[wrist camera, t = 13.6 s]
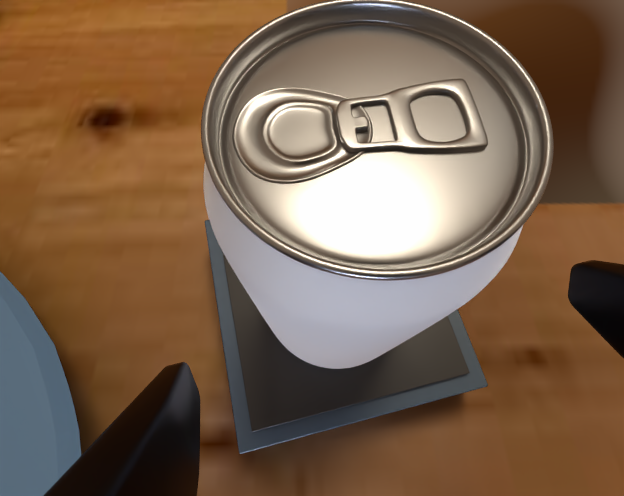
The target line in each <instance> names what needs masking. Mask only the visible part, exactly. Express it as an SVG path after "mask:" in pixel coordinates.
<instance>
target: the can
mask: <svg viewBox="0 0 624 496" xmlns="http://www.w3.org/2000/svg"><path fill="white" fill-rule="evenodd" d="M201 140H202V148H203V154H204V158H205V167H204V198H205V204H206V209H207V213H208V217H209V220H210V223H211V226H212V229H213V232H214V234H215V237H216V239H217V241H218V244H219V246H220V247H221V249H222V251H223V253H224V255H225V257H226V259H227V260H228V262H229V264H230V266H231V267H232V269H233V270H234V272H235V274H236V275H237V277H238V279H239V280H240V282H241V283H242V285H243V287H244V288H245V290H246V291H247V293H248V294H249V296H250V298H251V299H252V301H253V302H254V304H255V305H256V307H257V309H258V310H259V312H260V313H261V315H262V316H263V318H264V319H265V321H266V322H267V324H268V325H269V327H270V328H271V330H272V331H273V333H274V334H275V336H276V337H277V338H278V340H279V341H280V342H281V343H282V344H283V345H284V346H285V347H286V348H287V349H288V350H289V351H290V352H291V353H292V354H294V355H295V356H297V357H298V358H300V359H302V360H303V361H305V362H308V363H310V364H313V365H316V366H319V367H324V368H331V369H344V368H351V367H355V366H359V365H362V364H364V363H367V362H369V361H371V360H373V359H375V358H377V357H379V356H380V355H382V354H384V353H386V352H387V351H389V350H391V349H393V348H394V347H396V346H398V345H400V344H401V343H403V342H405V341H406V340H408V339H410V338H411V337H413V336H415V335H417V334H418V333H420V332H422V331H423V330H425V329H427V328H428V327H430V326H432V325H433V324H435V323H436V322H438V321H440V320H441V319H443V318H444V317H446V316H448V315H449V314H451V313H452V312H454V311H455V310H457V309H458V308H460V307H461V306H462V305H464V304H465V303H467V302H468V301H469V300H471V299H472V298H473V297H474V296H476V295H477V294H478V293H479V292H480V291H481V290H482V289H483V288H484V287H485V286H486V285H487V284H488V283H489V282H490V281H491V280H492V279H493V278H494V277H495V276H496V275H497V274H498V272H499V271H500V270H501V269H502V267H503V266H504V265H505V263H506V261H507V260H508V258H509V257H510V255H511V253H512V251H513V249H514V247H515V245H516V243H517V240H518V238H519V235H520V232H521V230H522V226H523V224H524V223H525V222H526V221H527V220H528V218H529V217H530V216H531V214H532V213H533V211H534V210H535V208H536V207H537V205H538V203H539V201H540V199H541V197H542V195H543V193H544V191H545V188H546V186H547V183H548V180H549V176H550V173H551V167H552V160H553V133H552V126H551V121H550V117H549V114H548V111H547V108H546V105H545V102H544V100H543V98H542V96H541V93H540V91H539V90H538V88H537V86H536V84H535V83H534V81H533V80H532V78H531V76H530V75H529V74H528V72H527V71H526V70H525V68H524V67H523V66H522V65H521V63H520V62H519V61H518V60H517V59H516V58H515V57H514V56H513V55H512V54H511V53H510V52H509V51H508V50H507V49H506V48H505V47H504V46H503V45H501V44H500V43H499V42H498V41H496V40H495V39H494V38H492V37H491V36H489V35H488V34H487V33H485V32H484V31H482V30H481V29H479V28H477V27H475V26H474V25H472V24H470V23H469V22H467V21H465V20H463V19H461V18H459V17H456V16H454V15H452V14H449V13H447V12H444V11H442V10H439V9H436V8H432V7H429V6H426V5H422V4H418V3H414V2H409V1H404V0H330V1H324V2H320V3H316V4H312V5H308V6H305V7H302V8H299V9H296V10H293V11H291V12H288V13H286V14H284V15H281V16H279V17H277V18H275V19H273V20H272V21H270V22H268V23H266V24H265V25H263V26H262V27H260V28H259V29H257V30H256V31H254V32H253V33H252V34H250V35H249V36H248V37H247V38H245V39H244V40H243V41H242V42H241V43H240V44H239V45H238V46H237V47H236V48H235V49H234V50H233V51H232V52H231V53H230V54H229V56H228V57H227V58H226V59H225V61H224V62H223V64H222V65H221V66H220V68H219V70H218V71H217V73H216V75H215V77H214V78H213V80H212V83H211V85H210V87H209V90H208V93H207V95H206V99H205V102H204V107H203V112H202V120H201Z"/></svg>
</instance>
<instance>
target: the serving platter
mask: <svg viewBox="0 0 624 496" xmlns="http://www.w3.org/2000/svg"><path fill="white" fill-rule="evenodd" d="M80 456H81V447H80V436H79V428H78V423H77V418H76V414H75V409H74V405H73V401H72V397H71V393H70V390H69V386H68V383H67V380H66V377H65V374H64V371H63V368H62V365H61V362H60V360H59V357H58V354H57V351H56V348H55V345H54V343H53V342H52V340H51V339H50V337H49V335H48V334H47V332H46V331H45V329H44V328H43V326H42V324H41V323H40V321H39V320H38V318H37V317H36V315H35V313H34V312H33V310H32V309H31V307H30V306H29V304H28V302H27V301H26V299H25V298H24V297H23V296H22V295H21V294H20V292H19V291H18V290H17V289H16V288H15V287H14V286H13V285H12V284H11V283H10V282H9V280H8V279H7V278H6V277H5V276H4V275H3V274H2V273H1V272H0V496H43V495H44V494H45V493H46V492H47V491H48V490H49V489H50V488H51V487H52V486H53V485H54V484H55V483H56V482H57V481H58V480H59V479H60V477H61V476H62V475H63V474H64V473H65V472H66V471H67V470H68V469H69V468H70V467H71V466H72V465H73V464H74V463H75V462H76V461H77V460H78V459H79V457H80Z"/></svg>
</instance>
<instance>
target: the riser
mask: <svg viewBox="0 0 624 496" xmlns="http://www.w3.org/2000/svg"><path fill="white" fill-rule="evenodd" d="M205 227H206V233H207V240H208V247H209V254H210V260H211V267H212V274H213V280H214V287H215V294H216V301H217V307H218V314H219V321H220V327H221V334H222V341H223V348H224V354H225V361H226V368H227V374H228V381H229V388H230V395H231V401H232V408H233V415H234V421H235V428H236V435H237V442H238V448H239V453H240V454H243V453H246V452H250V451H254V450H257V449H261V448H265V447H268V446H272V445H276V444H279V443H283V442H286V441H290V440H294V439H297V438H301V437H305V436H308V435H312V434H316V433H319V432H323V431H327V430H330V429H334V428H337V427H341V426H345V425H348V424H352V423H356V422H359V421H363V420H367V419H370V418H374V417H377V416H381V415H385V414H388V413H392V412H396V411H399V410H403V409H407V408H410V407H414V406H418V405H421V404H425V403H428V402H432V401H436V400H439V399H443V398H447V397H450V396H454V395H458V394H461V393H465V392H468V391H472V390H476V389H479V388H483V387H487V386H488V384H487V382H486V379H485V377H484V374H483V372H482V369H481V367H480V364H479V362H478V359H477V357H476V354H475V352H474V349H473V347H472V344H471V342H470V339H469V337H468V334H467V332H466V329H465V327H464V324H463V322H462V319H461V317H460V314H459V312H458V309H457V310H455V311H454V312H452V313H451V314H449V315H448V316H446V317H444V318H443V319H441V320H440V321H438V322H436V323H435V324H433V325H432V326H430V327H428V328H427V329H425V330H423V331H422V332H420V333H418V334H417V335H415V336H413V337H411V338H410V339H408V340H406V341H405V342H403V343H401V344H400V345H398V346H396V347H394V348H393V349H391V350H389V351H387V352H386V353H384V354H382V355H380V356H379V357H377V358H375V359H373V360H371V361H369V362H367V363H364V364H362V365H359V366H355V367H351V368H344V369H331V368H324V367H319V366H316V365H313V364H310V363H308V362H305V361H303V360H302V359H300V358H298V357H297V356H295V355H294V354H292V353H291V352H290V351H289V350H288V349H287V348H286V347H285V346H284V345H283V344H282V343H281V342H280V341H279V340H278V338H277V337H276V336H275V334H274V333H273V331H272V330H271V328H270V327H269V325H268V324H267V322H266V321H265V319H264V318H263V316H262V315H261V313H260V312H259V310H258V309H257V307H256V305H255V304H254V302H253V301H252V299H251V298H250V296H249V294H248V293H247V291H246V290H245V288H244V287H243V285H242V283H241V282H240V280H239V279H238V277H237V275H236V274H235V272H234V270H233V269H232V267H231V266H230V264H229V262H228V260H227V259H226V257H225V255H224V253H223V251H222V249H221V247H220V246H219V244H218V241H217V239H216V237H215V234H214V232H213V229H212V226H211V223H210V220H206V221H205Z"/></svg>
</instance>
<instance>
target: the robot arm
mask: <svg viewBox="0 0 624 496" xmlns="http://www.w3.org/2000/svg"><path fill="white" fill-rule="evenodd" d="M568 298H569V301H570V303H571V304H572V306H573V307H574V308H575V309H576V310H577V311H578V312H579V313H580V314H581V315H582V316H583V317H584V318H585V319H586V320H587V321H588V322H589V323H590V324H591V326H592V327H593V328H594V329H595V330H596V331H597V332H598V333H599V334H600V335H601V336H602V337H603V338H604V339H605V340H606V341H607V342H608V343H609V344H610V345H611V346H612V347H613V348H614V349H615V350H616V351H617V352H618V353H619V354H620V355H621V356H622V357H623V358H624V264H617V263H609V262H602V261H595V260H591V261H586V262H582V263H578V264H575V265H574V266H573V267H572V269H571V273H570V282H569V290H568ZM199 458H200V395H199V391H198V388H197V386H196V383H195V381H194V378H193V375H192V373H191V370H190V368H189V366H188V365H187V363H185V362H181V363H177V364H173V365H169V366H167V367H165V368H164V369H163V370H162V371H161V372H160V373H159V374H158V375H157V376H156V377H155V378H154V379H153V381H152V382H151V383H150V384H149V385H148V386H147V387H146V388H145V389H144V390H143V391H142V392H141V393H140V394H139V395H138V396H137V397H136V398H135V400H134V401H133V402H132V403H131V404H130V405H129V406H128V407H127V408H126V409H125V410H124V411H123V412H122V413H121V414H120V415H119V416H118V417H117V418H116V420H115V421H114V422H113V423H112V424H111V425H110V426H109V427H108V428H107V429H106V430H105V431H104V432H103V433H102V434H101V435H100V436H99V437H98V439H97V440H96V441H95V442H94V443H93V444H92V445H91V446H90V447H89V448H88V449H87V450H86V451H85V452H84V453H83V454H82V455H81V456H80V457H79V459H78V460H77V461H76V462H75V463H74V464H73V465H72V466H71V467H70V468H69V469H68V470H67V471H66V472H65V473H64V474H63V475H62V476H61V477H60V479H59V480H58V481H57V482H56V483H55V484H54V485H53V486H52V487H51V488H50V489H49V490H48V491H47V492H46V493H45V494H44V495H43V496H197V488H198V478H199Z"/></svg>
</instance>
